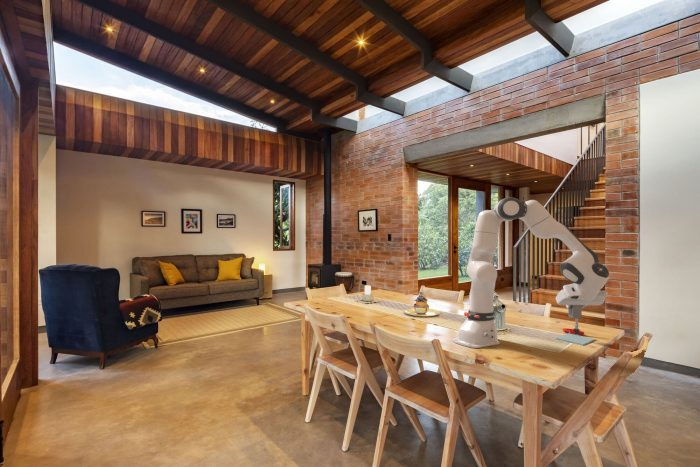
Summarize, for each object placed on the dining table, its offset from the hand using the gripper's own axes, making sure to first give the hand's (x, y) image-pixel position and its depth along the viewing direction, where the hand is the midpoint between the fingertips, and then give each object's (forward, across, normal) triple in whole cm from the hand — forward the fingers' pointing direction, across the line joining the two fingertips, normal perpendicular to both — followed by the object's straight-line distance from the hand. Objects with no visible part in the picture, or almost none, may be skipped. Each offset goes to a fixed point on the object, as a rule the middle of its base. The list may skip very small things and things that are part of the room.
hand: (574, 307), depth 168 cm
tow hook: (+19, -5, +3) cm, 20 cm away
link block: (+3, 0, +4) cm, 5 cm away
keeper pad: (+11, 0, +11) cm, 16 cm away
